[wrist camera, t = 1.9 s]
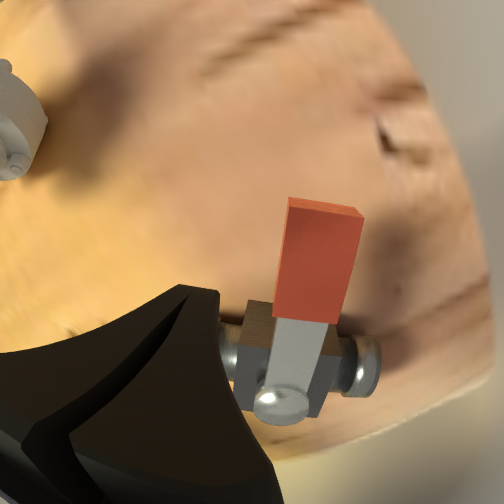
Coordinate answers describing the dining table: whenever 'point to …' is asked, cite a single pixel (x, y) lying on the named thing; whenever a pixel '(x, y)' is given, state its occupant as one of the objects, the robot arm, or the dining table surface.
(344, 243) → the valve lever
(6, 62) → the grey rounded housing
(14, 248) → the dining table surface
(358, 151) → the dining table surface
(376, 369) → the pipe valve
